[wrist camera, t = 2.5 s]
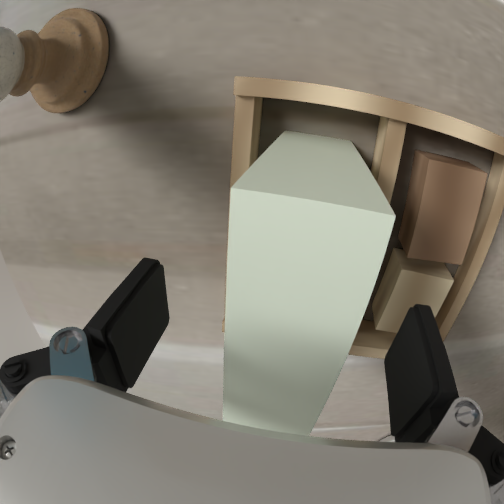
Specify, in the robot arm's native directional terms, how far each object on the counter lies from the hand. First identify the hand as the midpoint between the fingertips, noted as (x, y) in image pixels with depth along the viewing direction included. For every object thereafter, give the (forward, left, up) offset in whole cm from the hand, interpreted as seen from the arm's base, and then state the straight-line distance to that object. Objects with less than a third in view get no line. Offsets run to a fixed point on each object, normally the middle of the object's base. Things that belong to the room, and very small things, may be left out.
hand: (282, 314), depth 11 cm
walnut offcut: (-9, -3, -11) cm, 14 cm away
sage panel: (0, 0, -10) cm, 10 cm away
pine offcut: (-9, +4, -10) cm, 14 cm away
